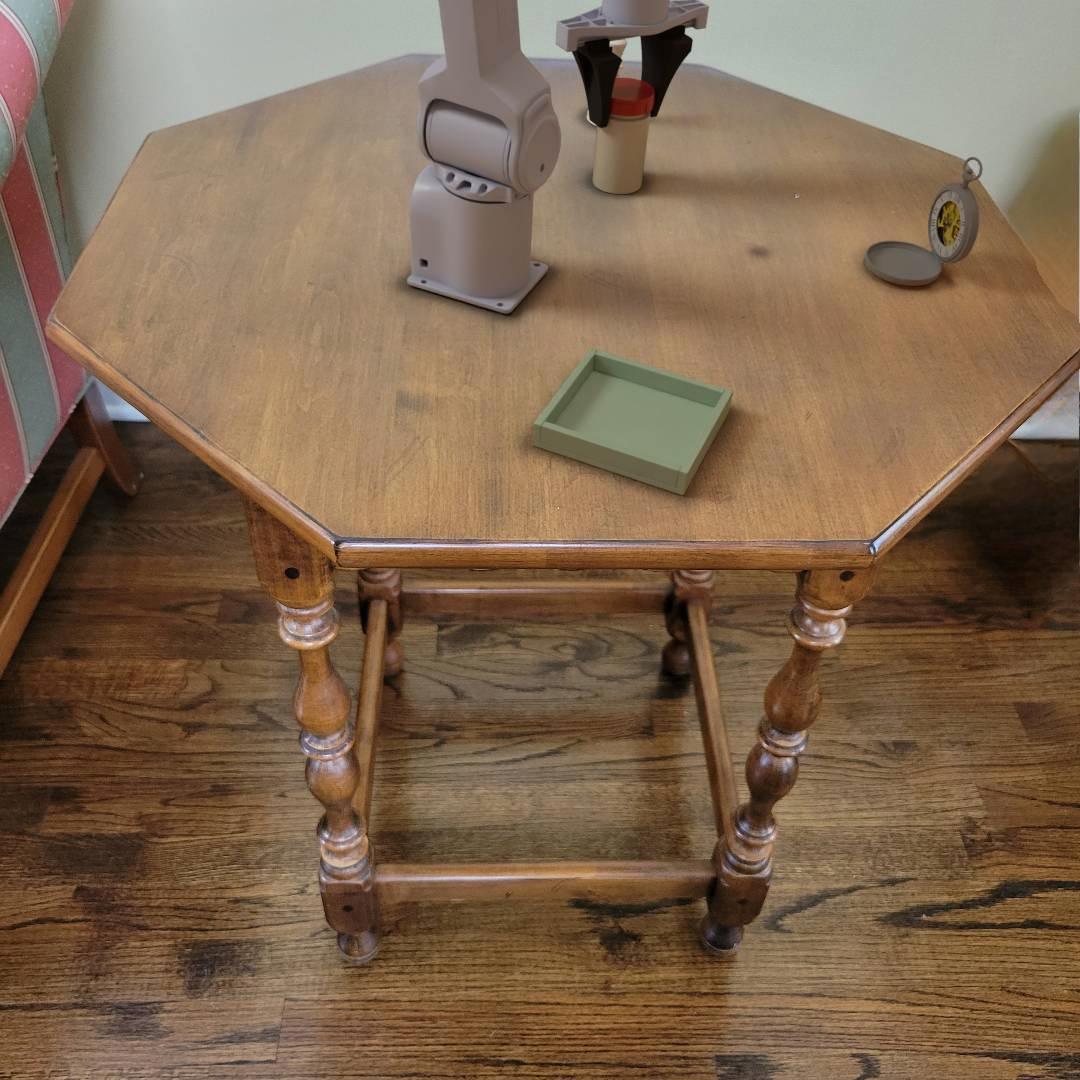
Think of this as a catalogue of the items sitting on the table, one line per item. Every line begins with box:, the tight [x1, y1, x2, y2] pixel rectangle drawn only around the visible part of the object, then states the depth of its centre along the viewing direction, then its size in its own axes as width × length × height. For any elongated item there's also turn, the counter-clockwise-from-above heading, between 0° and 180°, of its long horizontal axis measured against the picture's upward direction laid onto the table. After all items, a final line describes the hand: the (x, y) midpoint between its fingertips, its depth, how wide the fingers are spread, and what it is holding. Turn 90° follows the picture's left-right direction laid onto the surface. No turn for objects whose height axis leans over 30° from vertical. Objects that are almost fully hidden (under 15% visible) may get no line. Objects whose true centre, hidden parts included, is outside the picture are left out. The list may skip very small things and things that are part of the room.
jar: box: [591, 112, 651, 195], centre depth 100 cm, size 5×5×8 cm
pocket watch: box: [863, 156, 984, 287], centre depth 91 cm, size 8×8×10 cm
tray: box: [532, 347, 734, 496], centre depth 76 cm, size 11×10×2 cm
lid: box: [610, 77, 655, 116], centre depth 97 cm, size 5×5×2 cm
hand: (623, 118), depth 99 cm, fingers closed on lid, 5 cm apart
